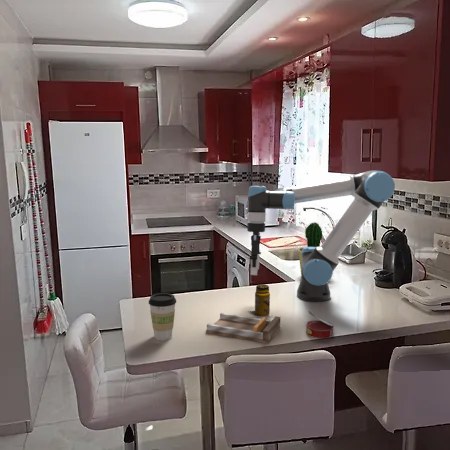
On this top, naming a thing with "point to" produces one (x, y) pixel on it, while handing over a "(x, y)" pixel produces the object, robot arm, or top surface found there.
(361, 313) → the top surface
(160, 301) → the coffee cup
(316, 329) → the canned food
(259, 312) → the condiment
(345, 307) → the top surface
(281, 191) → the robot arm
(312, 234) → the potted cactus
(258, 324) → the latch
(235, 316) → the rail board
